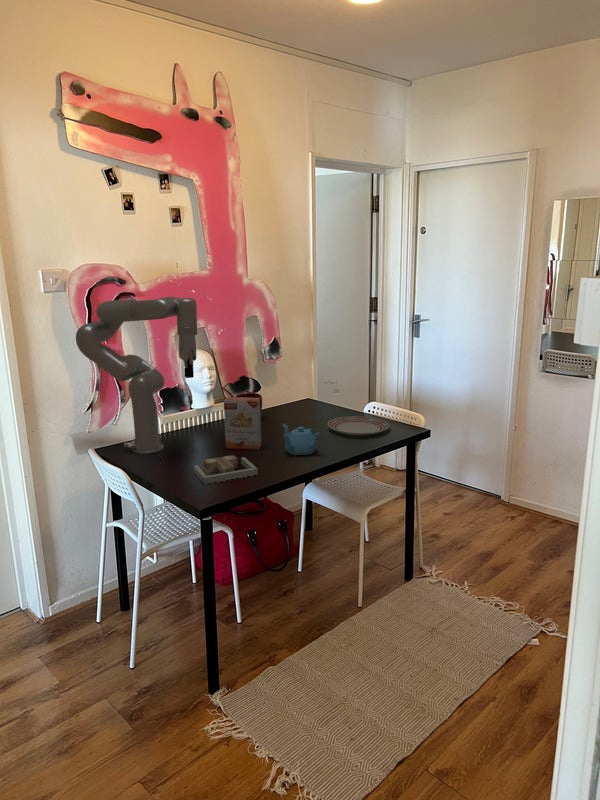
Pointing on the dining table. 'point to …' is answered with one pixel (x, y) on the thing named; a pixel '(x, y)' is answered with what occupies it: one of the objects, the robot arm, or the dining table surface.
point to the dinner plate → (358, 425)
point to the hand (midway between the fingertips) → (189, 377)
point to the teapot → (300, 441)
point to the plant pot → (252, 395)
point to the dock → (249, 471)
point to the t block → (221, 464)
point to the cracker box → (242, 423)
